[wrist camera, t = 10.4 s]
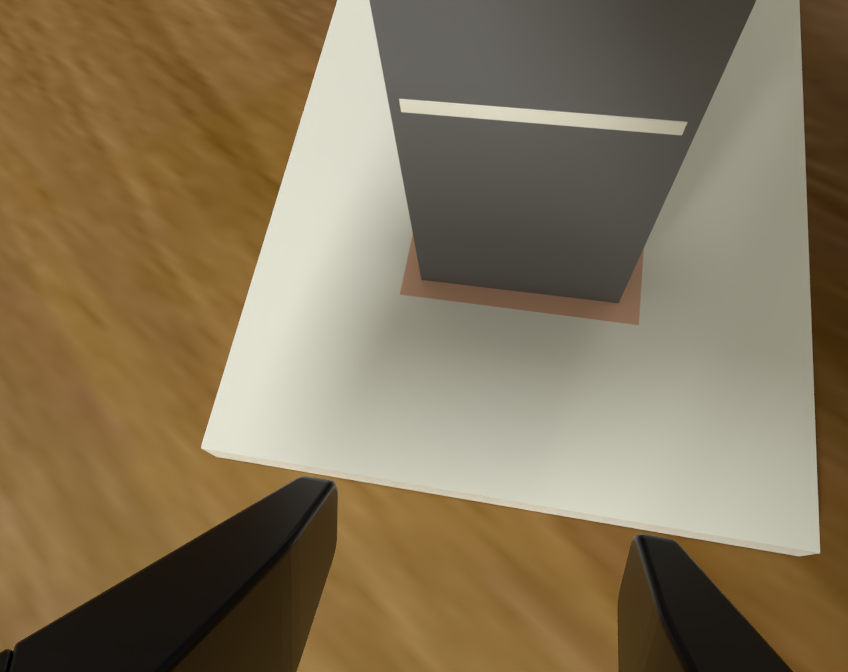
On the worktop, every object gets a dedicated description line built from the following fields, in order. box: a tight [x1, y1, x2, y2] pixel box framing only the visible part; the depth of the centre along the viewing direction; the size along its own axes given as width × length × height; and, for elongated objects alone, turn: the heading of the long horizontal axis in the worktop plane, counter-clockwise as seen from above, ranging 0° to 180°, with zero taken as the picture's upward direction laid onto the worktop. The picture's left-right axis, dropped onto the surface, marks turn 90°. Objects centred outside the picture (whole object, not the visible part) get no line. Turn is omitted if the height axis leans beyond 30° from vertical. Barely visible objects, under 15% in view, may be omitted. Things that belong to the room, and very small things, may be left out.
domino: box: [369, 0, 756, 303], centre depth 11 cm, size 2×5×13 cm, turn 80°
